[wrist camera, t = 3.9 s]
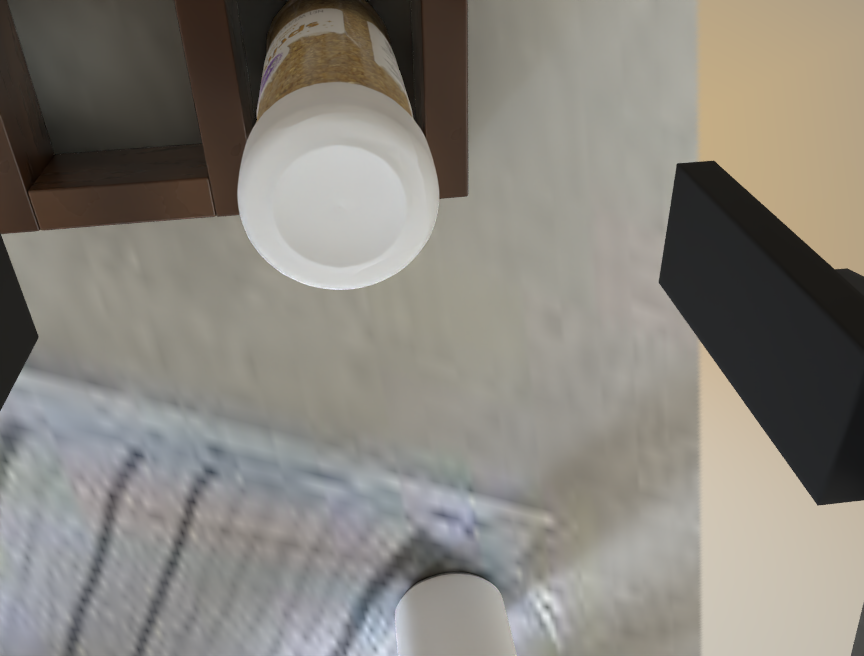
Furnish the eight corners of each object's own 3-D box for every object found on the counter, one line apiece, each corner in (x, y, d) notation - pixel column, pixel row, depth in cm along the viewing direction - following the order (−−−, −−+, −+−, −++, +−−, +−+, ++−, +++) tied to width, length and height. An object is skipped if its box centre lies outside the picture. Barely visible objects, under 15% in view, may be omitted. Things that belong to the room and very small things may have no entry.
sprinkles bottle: (273, -27, 27) (244, 88, 16) (403, -1, 28) (463, 126, 17) (260, 103, 29) (226, 284, 18) (380, 124, 30) (420, 308, 19)
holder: (25, 194, 30) (-6, 235, 27) (-64, -69, 25) (-113, -53, 22) (454, 161, 32) (468, 197, 29) (451, -93, 27) (468, -81, 24)
